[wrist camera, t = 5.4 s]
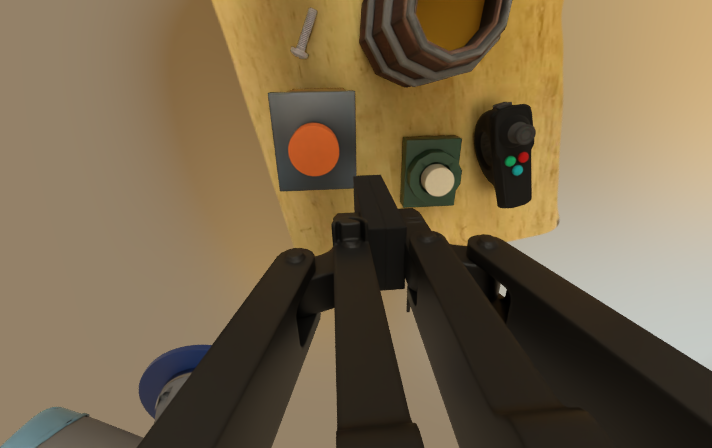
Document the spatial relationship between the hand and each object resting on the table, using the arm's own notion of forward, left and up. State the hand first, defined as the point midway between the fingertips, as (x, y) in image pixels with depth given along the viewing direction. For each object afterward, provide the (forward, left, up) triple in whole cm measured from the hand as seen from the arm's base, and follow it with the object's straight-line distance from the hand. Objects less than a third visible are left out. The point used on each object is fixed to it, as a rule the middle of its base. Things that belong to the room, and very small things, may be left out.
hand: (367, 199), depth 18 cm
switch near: (+1, +3, -25) cm, 25 cm away
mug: (+13, -7, -25) cm, 29 cm away
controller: (-3, -19, -25) cm, 31 cm away
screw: (+10, +4, -25) cm, 28 cm away
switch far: (-6, -11, -25) cm, 28 cm away
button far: (-6, -11, -21) cm, 25 cm away
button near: (+1, +3, -8) cm, 8 cm away
